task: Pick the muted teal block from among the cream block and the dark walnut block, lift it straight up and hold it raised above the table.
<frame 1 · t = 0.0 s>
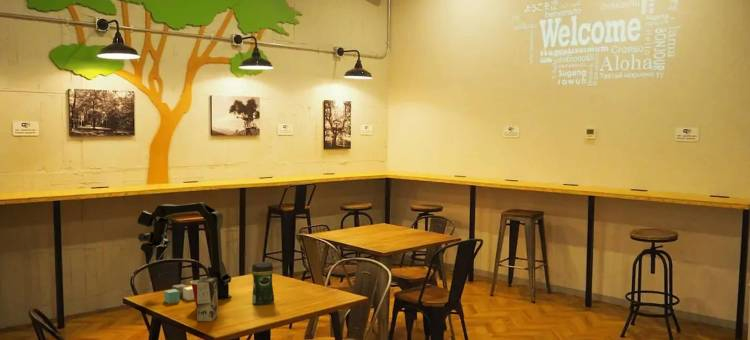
hand: (152, 262, 321), 15 cm above the table, tool pointing down, fingers open, 9 cm apart
walnut block: (180, 296, 319), on the table
coffee jar: (263, 303, 306), on the table
plastic cup: (203, 308, 298), on the table
teal block: (172, 301, 309), on the table
coffee box: (207, 318, 282), on the table
cream block: (190, 298, 315), on the table
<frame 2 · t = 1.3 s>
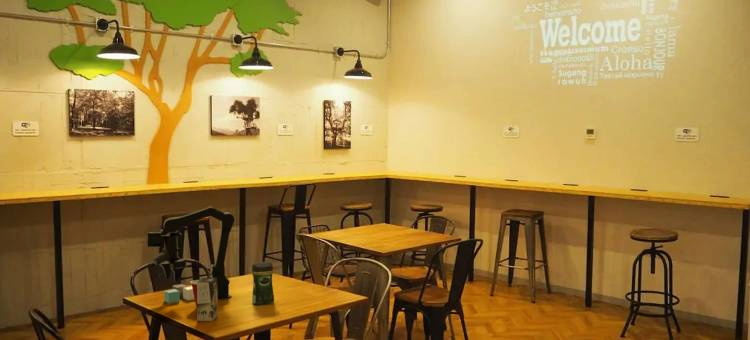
hand: (171, 280, 308), 10 cm above the table, tool pointing down, fingers open, 9 cm apart
nothing on the table moved.
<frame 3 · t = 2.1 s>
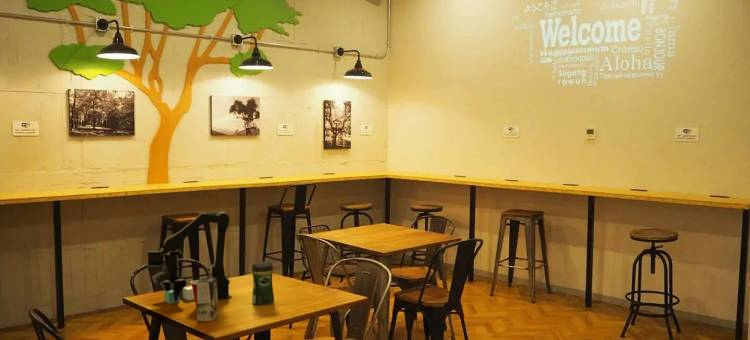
hand: (172, 299, 309), 1 cm above the table, tool pointing down, fingers open, 8 cm apart
nothing on the table moved.
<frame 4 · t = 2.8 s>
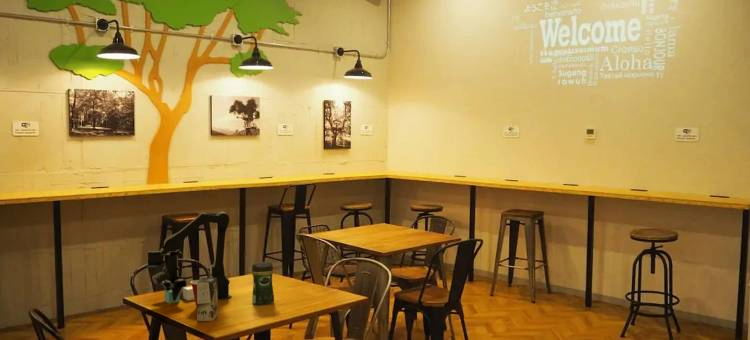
hand: (172, 299, 309), 1 cm above the table, tool pointing down, fingers closed on teal block, 5 cm apart
teal block: (172, 301, 309), on the table, touching gripper
everything else where it was.
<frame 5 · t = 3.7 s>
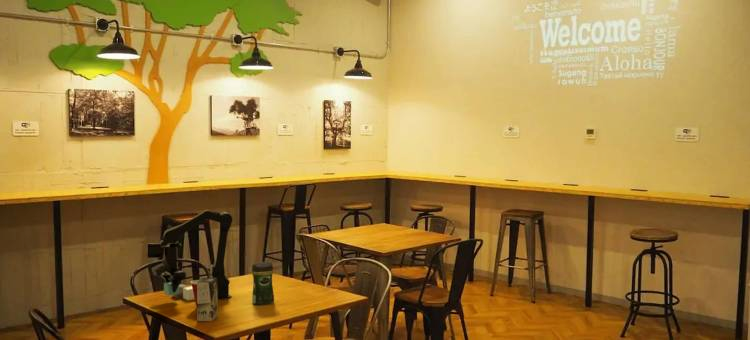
hand: (171, 291, 309), 5 cm above the table, tool pointing down, fingers closed on teal block, 5 cm apart
teal block: (171, 293, 309), point 4 cm above the table, touching gripper
everything else where it was.
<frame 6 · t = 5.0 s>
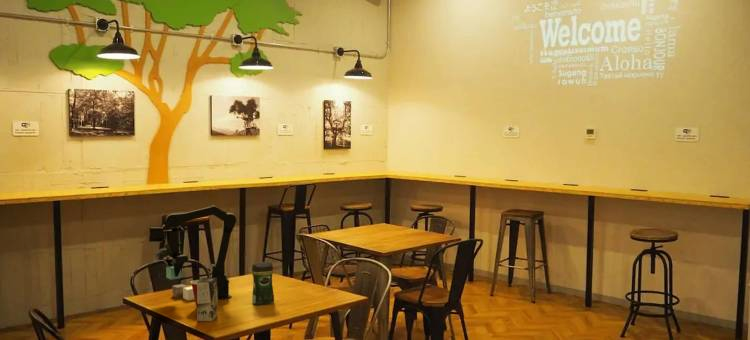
hand: (174, 275, 310), 12 cm above the table, tool pointing down, fingers closed on teal block, 5 cm apart
teal block: (173, 277, 310), point 11 cm above the table, touching gripper
everything else where it was.
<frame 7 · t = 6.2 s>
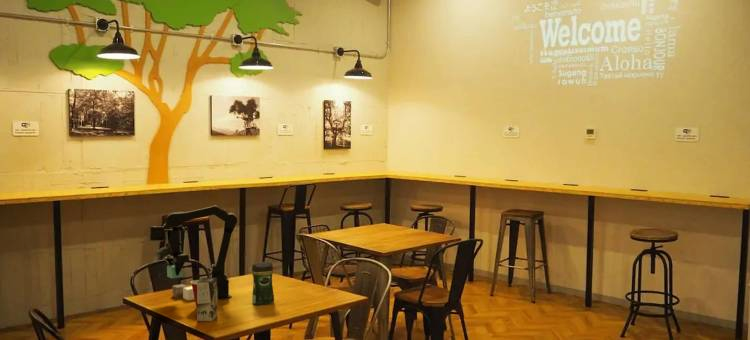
hand: (174, 274, 310), 12 cm above the table, tool pointing down, fingers closed on teal block, 5 cm apart
teal block: (174, 276, 310), point 11 cm above the table, touching gripper
everything else where it was.
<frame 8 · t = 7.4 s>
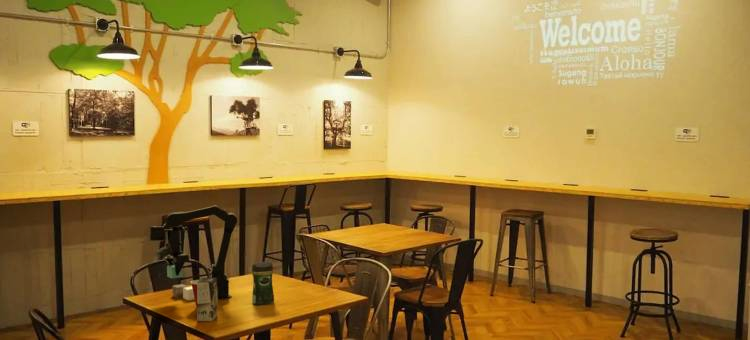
hand: (174, 274, 310), 12 cm above the table, tool pointing down, fingers closed on teal block, 5 cm apart
teal block: (174, 276, 310), point 11 cm above the table, touching gripper
everything else where it was.
at the end: teal block point 10.9 cm above the table; cream block moved 0.1 cm from its start; walnut block moved 0.1 cm from its start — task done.
